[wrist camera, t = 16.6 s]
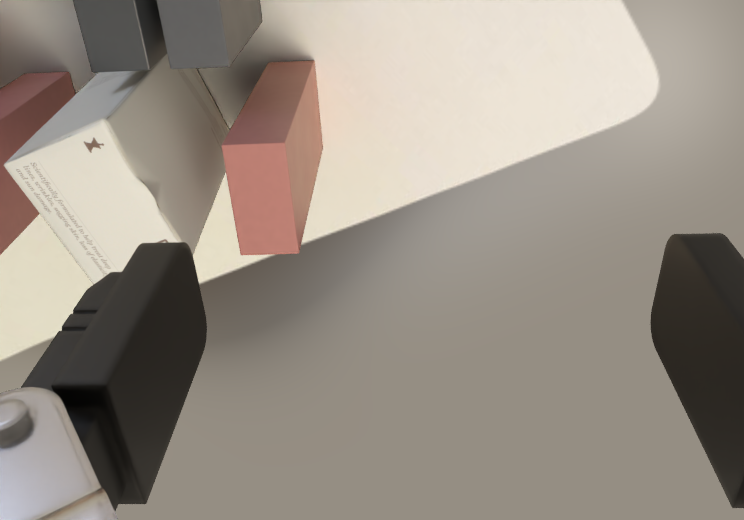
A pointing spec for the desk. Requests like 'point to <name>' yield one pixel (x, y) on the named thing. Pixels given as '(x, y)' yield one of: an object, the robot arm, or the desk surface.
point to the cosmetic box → (126, 165)
